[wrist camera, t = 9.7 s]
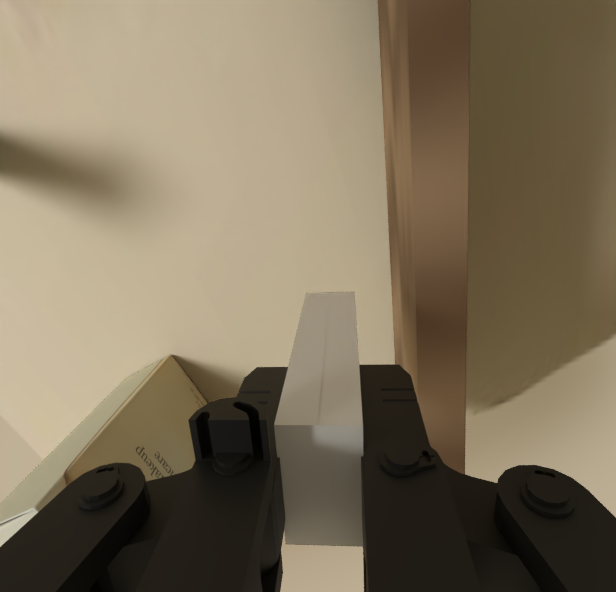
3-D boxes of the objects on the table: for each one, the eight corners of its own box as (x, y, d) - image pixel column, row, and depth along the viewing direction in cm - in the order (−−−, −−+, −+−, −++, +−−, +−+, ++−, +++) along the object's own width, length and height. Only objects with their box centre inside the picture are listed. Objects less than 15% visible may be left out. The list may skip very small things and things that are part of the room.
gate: (361, -63, 19) (388, -452, 6) (419, -73, 18) (561, -500, 6) (387, 391, 26) (422, 615, 14) (428, 389, 26) (501, 616, 13)
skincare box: (227, 426, 28) (144, 621, 17) (174, 451, 29) (62, 651, 18) (169, 349, 27) (34, 507, 15) (115, 379, 28) (-48, 547, 16)
